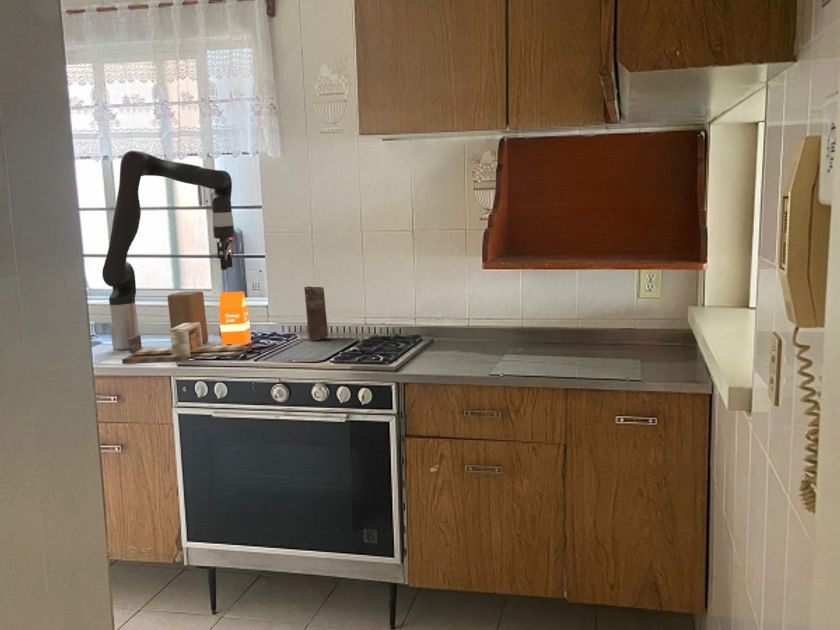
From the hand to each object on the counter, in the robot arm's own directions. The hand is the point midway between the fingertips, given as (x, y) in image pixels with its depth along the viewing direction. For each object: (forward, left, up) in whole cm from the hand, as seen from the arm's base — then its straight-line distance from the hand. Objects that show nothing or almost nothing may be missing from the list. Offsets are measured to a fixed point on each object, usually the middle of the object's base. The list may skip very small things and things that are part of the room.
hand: (227, 268), depth 298 cm
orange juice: (+3, -5, -29) cm, 29 cm away
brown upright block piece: (+33, -1, -29) cm, 43 cm away
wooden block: (-17, +1, -29) cm, 33 cm away
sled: (-9, -22, -26) cm, 36 cm away
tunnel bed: (-9, -22, -28) cm, 37 cm away
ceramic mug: (-2, +8, -29) cm, 30 cm away
